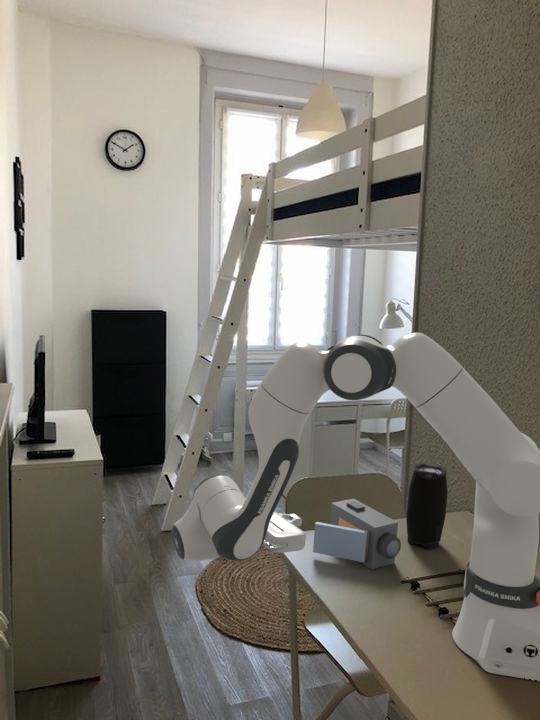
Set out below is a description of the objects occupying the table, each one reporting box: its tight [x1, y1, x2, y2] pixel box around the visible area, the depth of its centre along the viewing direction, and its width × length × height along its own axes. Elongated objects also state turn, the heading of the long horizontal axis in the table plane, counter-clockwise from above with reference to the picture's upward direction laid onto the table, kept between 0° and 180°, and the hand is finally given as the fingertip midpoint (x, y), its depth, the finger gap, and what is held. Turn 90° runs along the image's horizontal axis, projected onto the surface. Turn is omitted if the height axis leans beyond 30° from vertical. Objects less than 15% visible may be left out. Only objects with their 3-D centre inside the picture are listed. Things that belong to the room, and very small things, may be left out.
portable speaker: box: [405, 463, 449, 550], centre depth 153 cm, size 9×9×20 cm
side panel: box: [312, 521, 370, 563], centre depth 140 cm, size 13×1×7 cm, turn 72°
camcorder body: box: [329, 498, 402, 570], centre depth 145 cm, size 19×7×11 cm, turn 32°
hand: (298, 519), depth 137 cm, fingers closed
